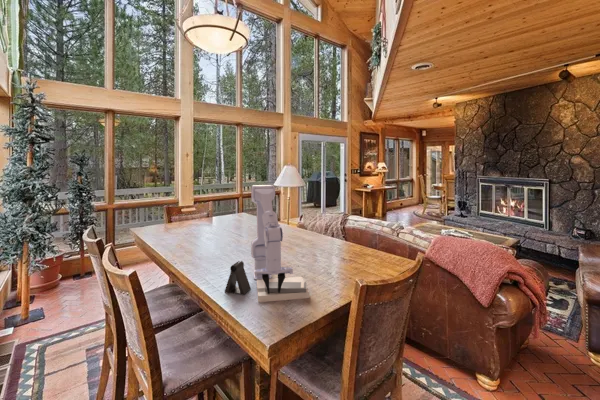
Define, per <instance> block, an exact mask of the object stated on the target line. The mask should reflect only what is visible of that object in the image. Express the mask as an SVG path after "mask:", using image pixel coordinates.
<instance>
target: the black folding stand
mask: <svg viewBox="0 0 600 400" xmlns="http://www.w3.org/2000/svg"><path fill="white" fill-rule="evenodd" d="M244 267H245V264H244V261H243V260H241V261H240V260H238V261H237V262H235V263H234V264H232V265H231V266H230V273H229V276H228V280H227V283H226V285H225V288H224V289H225V290H224V293H226V292H227V293H228V294H235V295H242V296H245V294H247V292H249V291H250V290H251V289H252V288H251V285H250V282H249V279H248V276H247V274H246V271H245V268H244Z"/></svg>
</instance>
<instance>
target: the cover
mask: <svg viewBox="0 0 600 400" xmlns="http://www.w3.org/2000/svg"><path fill="white" fill-rule="evenodd" d="M306 288H307V282H305V281H304V282H283V283H282V286H281V290H280V292H306ZM269 290H270V292H278V282H269ZM265 292H267V287H266V285H265Z"/></svg>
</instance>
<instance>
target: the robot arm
mask: <svg viewBox="0 0 600 400" xmlns="http://www.w3.org/2000/svg"><path fill="white" fill-rule="evenodd" d="M250 192H251V194H250V195H251V198H250V199H251V202H252V203H254V204H255V205H256V234H257V235H256V238H254V239H253V240H252V241H251V244H250V245H251V246H250V254H251V255H250V256H251V258H252V259H254V270H253V280H256V281H257V280H261V279H263V281H264V282H265V285H266V287H267V292H268V294H270V290H269V279H273V278H272V276H275V275H277V278H278V293H280V290H281V286H282V283H283V281H284V279H285V278H286V274H289V275H293V274H294V273H293V271H294V269H293V267H292V266H291V267H288V266H287V267H284V266H282V242H283V237H284V235H283V234H284V233H283V228H282V226H281V224H279V221H278V215H277V213H276V212H275V211H273V210H274V209H273V200H274V199H275V196H276V187H275V185H274V184H259V185H257V184H253V185H251V191H250Z"/></svg>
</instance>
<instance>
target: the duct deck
mask: <svg viewBox="0 0 600 400" xmlns="http://www.w3.org/2000/svg"><path fill="white" fill-rule="evenodd" d="M269 282H278V277H276V278H270V279H269ZM283 282H305V280H304V279H303V276H291V277H290V276H288V277H285V279H284V281H283ZM256 288H257V289H256V291H257V302H258V303H265V302H266V303H267V302H277V301H288V300H301V299H310V290H309V289H308V288H307V287H306V292H280V293H278V292H270V294H268V292H265V282H264V281H263V279H256Z"/></svg>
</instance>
